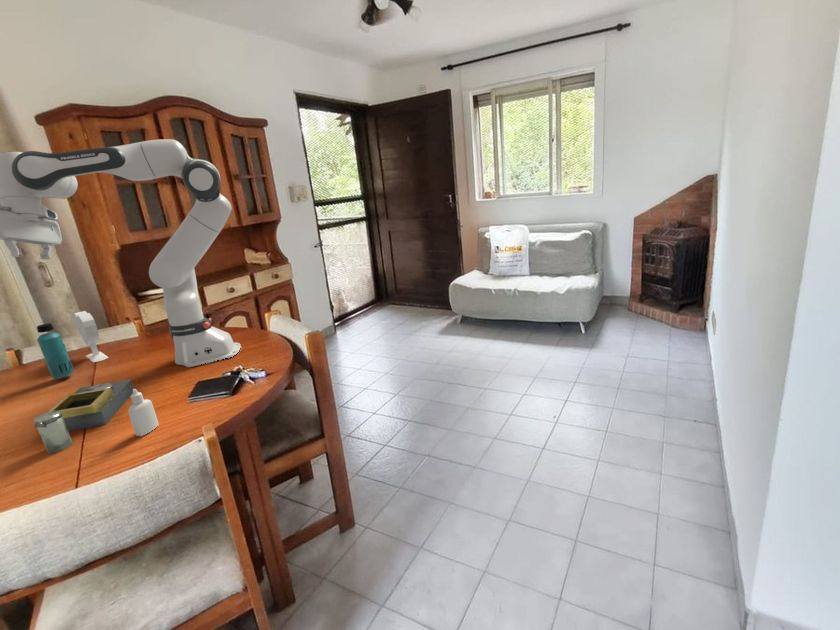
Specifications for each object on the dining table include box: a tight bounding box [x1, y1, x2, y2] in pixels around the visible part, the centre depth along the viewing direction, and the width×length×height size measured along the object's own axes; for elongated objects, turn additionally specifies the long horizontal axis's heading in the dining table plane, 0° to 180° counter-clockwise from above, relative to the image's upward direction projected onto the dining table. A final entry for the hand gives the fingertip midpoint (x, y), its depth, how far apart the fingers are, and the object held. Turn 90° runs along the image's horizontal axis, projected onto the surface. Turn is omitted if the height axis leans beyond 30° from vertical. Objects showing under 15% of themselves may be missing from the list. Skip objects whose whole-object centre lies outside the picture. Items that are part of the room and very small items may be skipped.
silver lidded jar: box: [33, 410, 73, 454], centre depth 103 cm, size 5×7×9 cm
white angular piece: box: [72, 310, 109, 363], centre depth 162 cm, size 16×5×18 cm, turn 49°
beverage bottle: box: [36, 322, 75, 379], centre depth 144 cm, size 6×7×20 cm
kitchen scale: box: [47, 379, 135, 432], centre depth 121 cm, size 20×14×6 cm
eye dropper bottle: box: [128, 388, 159, 437], centre depth 108 cm, size 4×6×12 cm
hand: (32, 257), depth 123 cm, fingers open, 8 cm apart
